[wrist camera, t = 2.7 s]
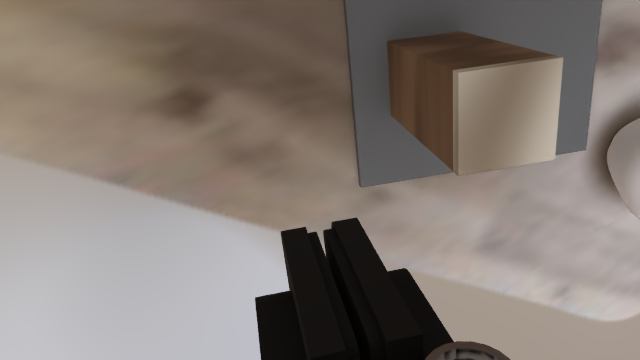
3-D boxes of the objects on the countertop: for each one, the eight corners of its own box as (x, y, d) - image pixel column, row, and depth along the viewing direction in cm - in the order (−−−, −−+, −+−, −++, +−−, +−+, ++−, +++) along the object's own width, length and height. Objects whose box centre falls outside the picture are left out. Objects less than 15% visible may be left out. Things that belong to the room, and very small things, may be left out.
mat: (604, -70, 26) (609, -70, 26) (581, 148, 31) (586, 150, 31) (340, -39, 25) (342, -39, 24) (359, 184, 29) (361, 187, 29)
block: (460, 31, 27) (563, 57, 18) (460, 104, 28) (555, 159, 20) (387, 41, 26) (458, 72, 18) (391, 115, 28) (458, 176, 19)
